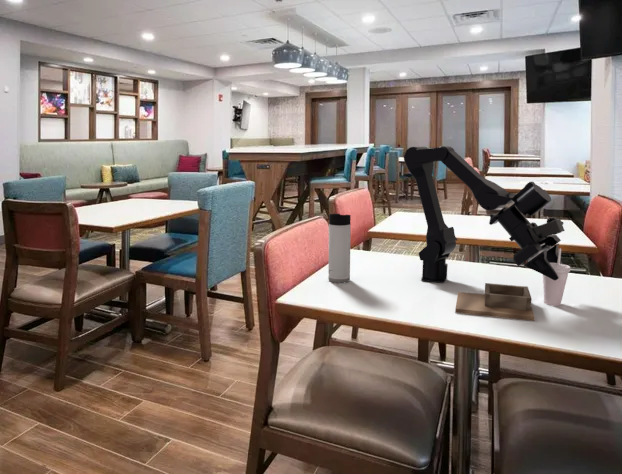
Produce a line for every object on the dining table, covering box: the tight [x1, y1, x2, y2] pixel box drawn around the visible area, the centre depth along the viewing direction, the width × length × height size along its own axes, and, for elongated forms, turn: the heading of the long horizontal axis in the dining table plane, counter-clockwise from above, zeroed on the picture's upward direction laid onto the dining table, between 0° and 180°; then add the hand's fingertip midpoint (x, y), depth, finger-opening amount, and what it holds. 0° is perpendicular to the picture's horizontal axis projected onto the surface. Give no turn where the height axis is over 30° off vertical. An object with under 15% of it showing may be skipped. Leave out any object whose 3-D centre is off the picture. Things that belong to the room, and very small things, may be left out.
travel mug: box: [328, 212, 352, 284], centre depth 140 cm, size 6×7×20 cm
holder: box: [454, 282, 536, 322], centre depth 117 cm, size 17×14×4 cm
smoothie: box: [542, 247, 571, 307], centre depth 119 cm, size 6×6×14 cm
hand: (561, 276), depth 118 cm, fingers closed on smoothie, 6 cm apart
